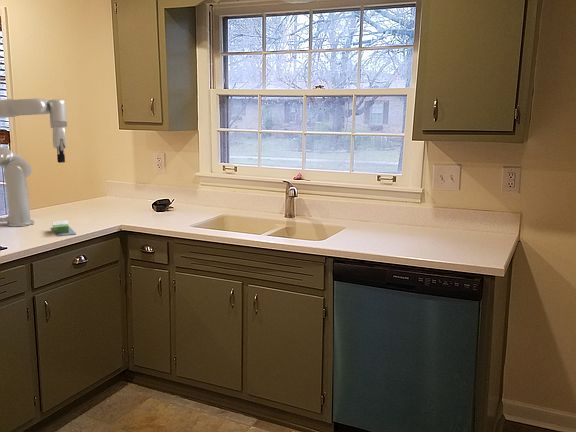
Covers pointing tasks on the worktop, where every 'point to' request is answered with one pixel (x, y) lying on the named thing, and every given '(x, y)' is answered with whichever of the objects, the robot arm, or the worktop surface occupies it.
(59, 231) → the ink box
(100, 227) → the worktop surface
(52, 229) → the rubber mat
